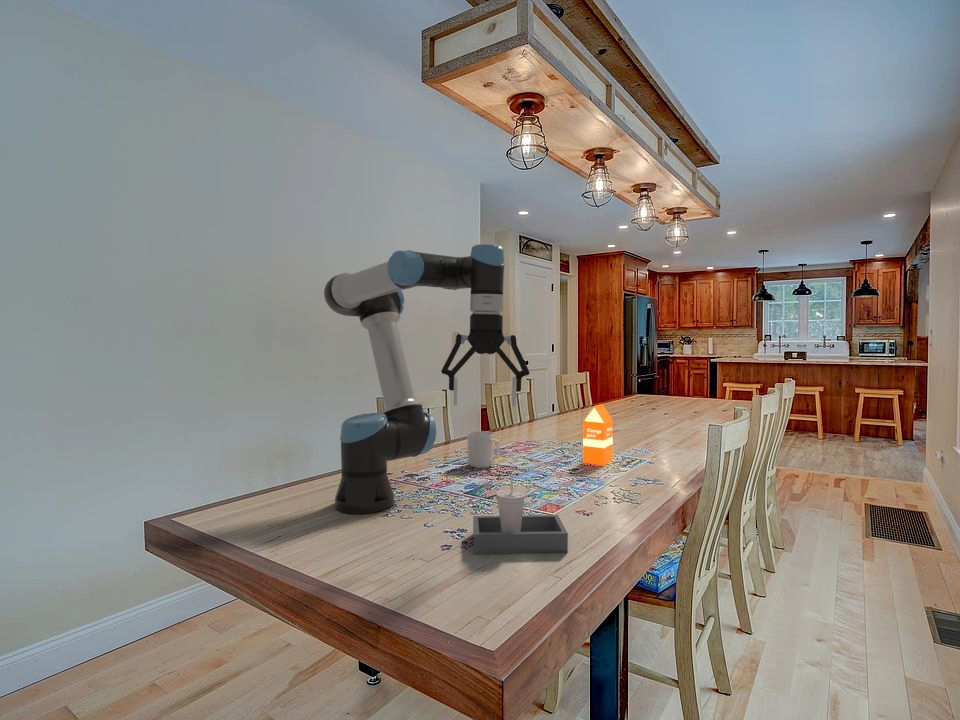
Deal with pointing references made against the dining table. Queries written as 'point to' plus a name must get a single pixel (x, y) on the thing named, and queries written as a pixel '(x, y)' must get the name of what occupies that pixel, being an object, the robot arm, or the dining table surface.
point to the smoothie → (510, 508)
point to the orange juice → (597, 436)
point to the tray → (520, 535)
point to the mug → (481, 449)
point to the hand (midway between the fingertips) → (484, 405)
